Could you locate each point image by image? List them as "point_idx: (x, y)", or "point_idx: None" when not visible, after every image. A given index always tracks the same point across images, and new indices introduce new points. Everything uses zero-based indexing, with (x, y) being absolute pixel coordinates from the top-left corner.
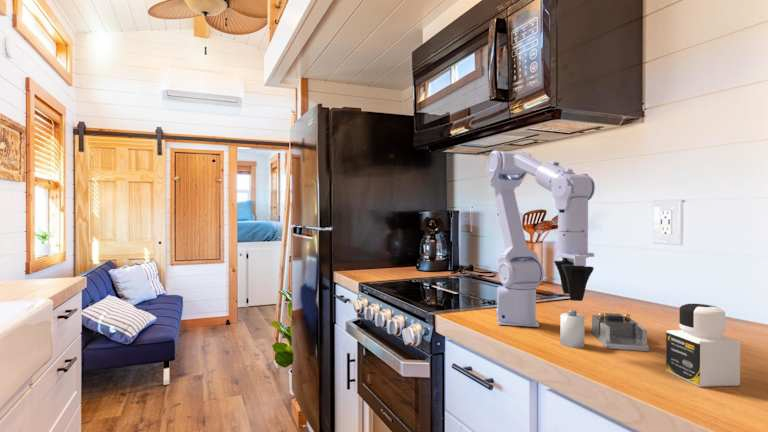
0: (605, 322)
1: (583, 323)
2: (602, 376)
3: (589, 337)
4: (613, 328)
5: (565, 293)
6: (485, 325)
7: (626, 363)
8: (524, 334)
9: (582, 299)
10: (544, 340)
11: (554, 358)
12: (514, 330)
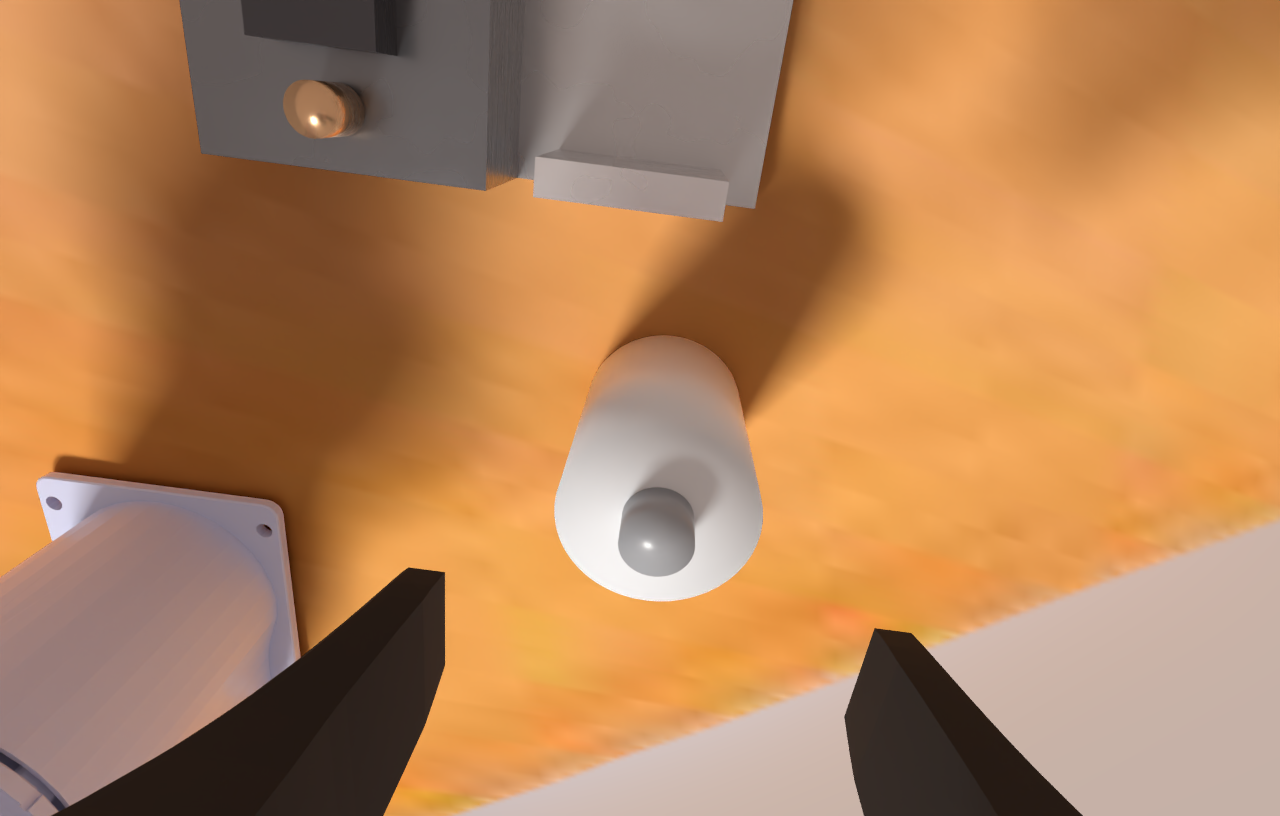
0: (489, 125)
1: (729, 427)
2: (1270, 447)
3: (456, 221)
4: (503, 42)
5: (443, 656)
6: None
7: (1086, 204)
8: (480, 615)
9: (917, 642)
10: None
11: (947, 583)
12: None
